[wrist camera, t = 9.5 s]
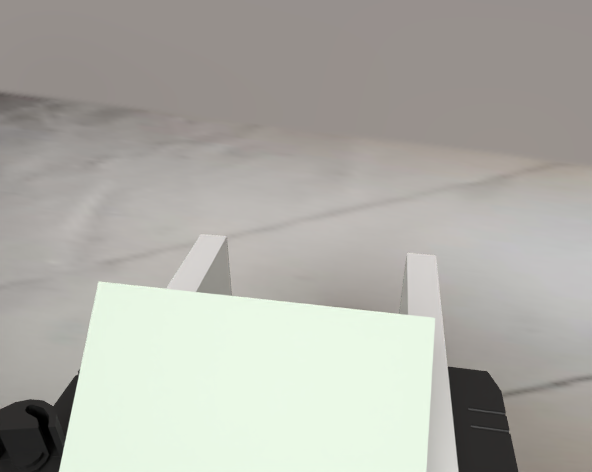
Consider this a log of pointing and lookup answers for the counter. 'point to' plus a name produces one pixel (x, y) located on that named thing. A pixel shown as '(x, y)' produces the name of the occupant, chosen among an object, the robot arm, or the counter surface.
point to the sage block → (248, 386)
